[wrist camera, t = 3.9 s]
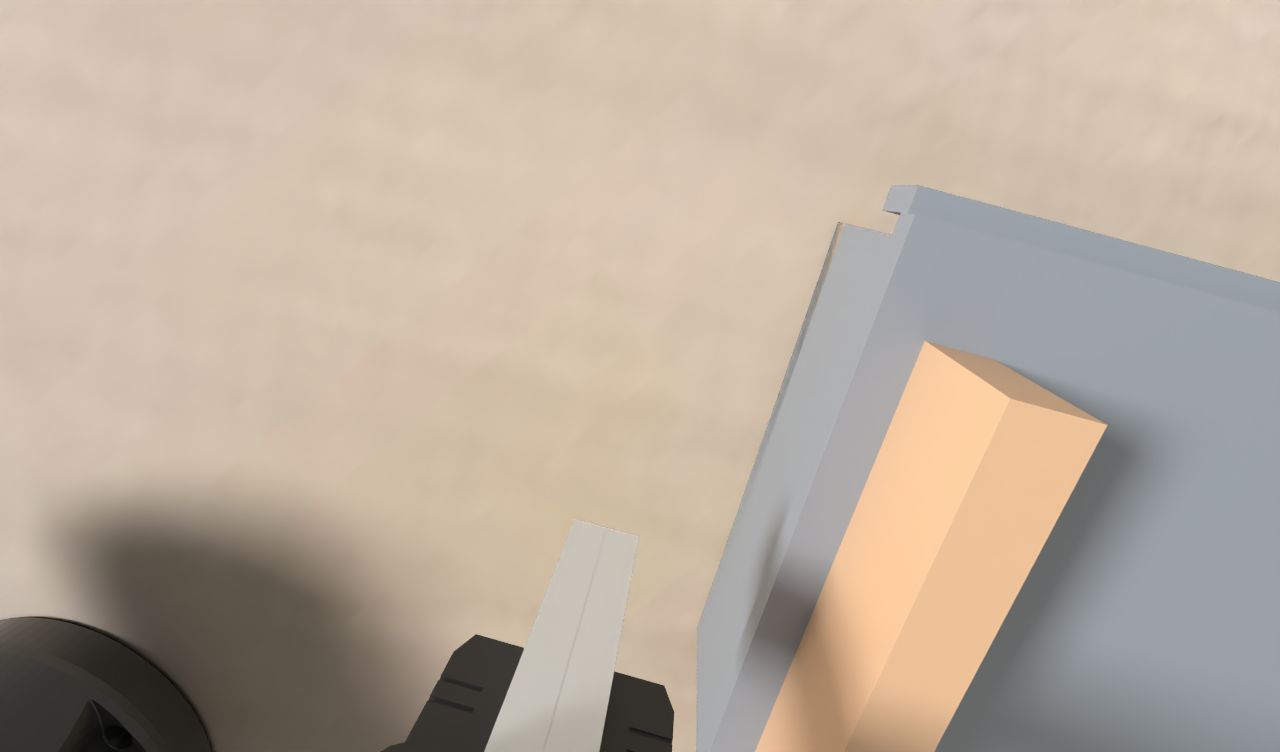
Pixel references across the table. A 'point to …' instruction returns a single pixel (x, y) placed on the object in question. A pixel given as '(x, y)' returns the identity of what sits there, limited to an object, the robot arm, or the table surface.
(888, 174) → the table surface
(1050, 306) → the lid
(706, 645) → the open gray box
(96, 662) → the robot arm
